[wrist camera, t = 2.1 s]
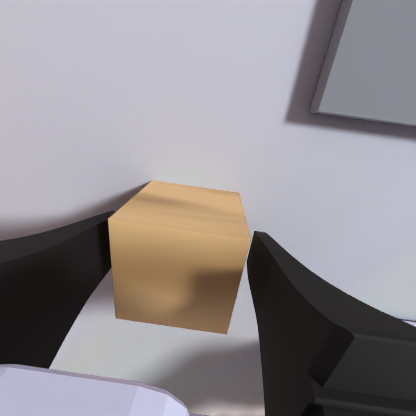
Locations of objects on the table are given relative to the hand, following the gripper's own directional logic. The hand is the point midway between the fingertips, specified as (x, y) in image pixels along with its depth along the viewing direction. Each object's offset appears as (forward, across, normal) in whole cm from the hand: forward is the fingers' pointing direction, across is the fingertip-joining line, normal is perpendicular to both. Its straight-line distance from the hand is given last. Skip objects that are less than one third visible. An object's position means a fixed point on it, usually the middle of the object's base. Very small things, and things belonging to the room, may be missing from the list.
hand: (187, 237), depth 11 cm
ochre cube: (+2, 0, 0) cm, 2 cm away
